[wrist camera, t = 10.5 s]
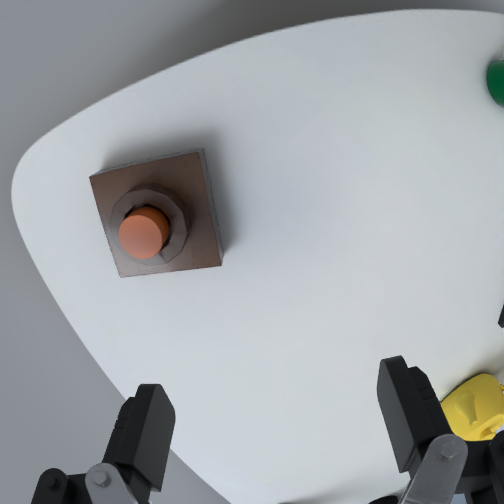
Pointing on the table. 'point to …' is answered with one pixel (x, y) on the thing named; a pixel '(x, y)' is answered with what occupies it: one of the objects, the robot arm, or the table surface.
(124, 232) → the button
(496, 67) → the soda can
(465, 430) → the teapot
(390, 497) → the vase
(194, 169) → the button block
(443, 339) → the table surface
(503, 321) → the bracket
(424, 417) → the robot arm
